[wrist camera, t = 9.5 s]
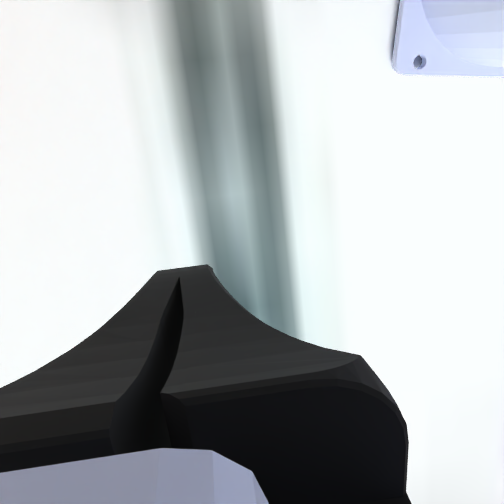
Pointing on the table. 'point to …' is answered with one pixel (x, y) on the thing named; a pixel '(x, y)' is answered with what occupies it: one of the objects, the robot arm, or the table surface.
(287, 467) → the robot arm
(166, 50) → the table surface
